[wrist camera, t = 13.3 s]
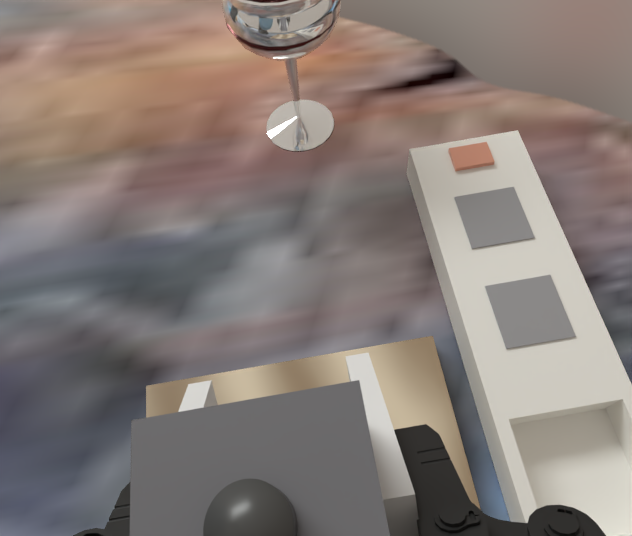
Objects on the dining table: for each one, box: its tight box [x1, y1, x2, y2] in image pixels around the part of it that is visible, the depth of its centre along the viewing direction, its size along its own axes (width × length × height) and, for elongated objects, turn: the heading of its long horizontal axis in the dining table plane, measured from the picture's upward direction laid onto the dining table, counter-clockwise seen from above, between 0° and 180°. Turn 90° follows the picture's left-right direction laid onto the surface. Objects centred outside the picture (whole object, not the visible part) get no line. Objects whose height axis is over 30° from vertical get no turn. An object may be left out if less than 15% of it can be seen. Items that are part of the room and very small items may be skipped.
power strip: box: [407, 131, 632, 536], centre depth 28 cm, size 7×24×3 cm, turn 9°
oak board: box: [146, 336, 481, 510], centre depth 25 cm, size 16×16×1 cm
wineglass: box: [222, 0, 341, 151], centre depth 33 cm, size 7×7×12 cm
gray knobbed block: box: [130, 380, 390, 536], centre depth 13 cm, size 4×4×11 cm
